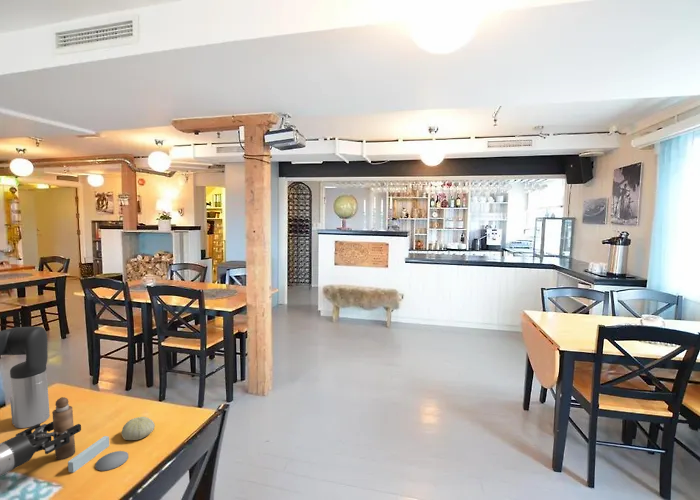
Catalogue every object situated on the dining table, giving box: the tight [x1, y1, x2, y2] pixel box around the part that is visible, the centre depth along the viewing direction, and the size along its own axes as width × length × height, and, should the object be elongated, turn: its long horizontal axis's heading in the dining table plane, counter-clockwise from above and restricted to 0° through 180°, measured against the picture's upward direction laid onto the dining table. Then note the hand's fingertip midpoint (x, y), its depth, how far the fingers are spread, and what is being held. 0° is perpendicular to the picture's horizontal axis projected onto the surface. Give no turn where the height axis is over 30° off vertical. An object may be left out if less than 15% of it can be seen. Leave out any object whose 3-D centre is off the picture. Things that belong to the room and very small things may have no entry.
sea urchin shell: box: [121, 416, 156, 441], centre depth 118 cm, size 9×8×8 cm
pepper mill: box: [51, 397, 76, 461], centre depth 106 cm, size 5×5×18 cm
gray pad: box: [95, 450, 129, 472], centre depth 105 cm, size 8×8×1 cm
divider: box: [67, 435, 110, 474], centre depth 106 cm, size 2×12×3 cm, turn 170°
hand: (70, 424), depth 108 cm, fingers open, 8 cm apart
